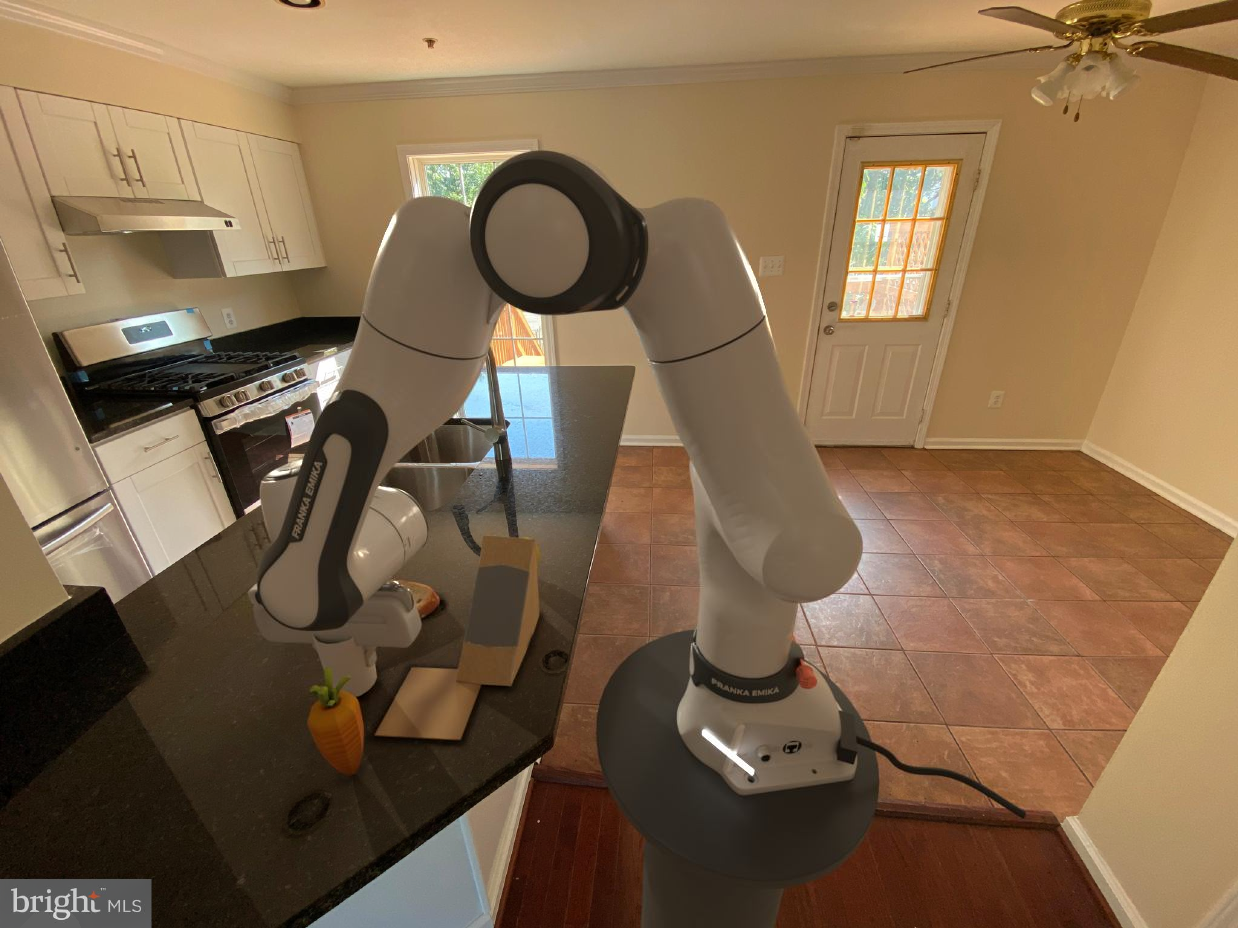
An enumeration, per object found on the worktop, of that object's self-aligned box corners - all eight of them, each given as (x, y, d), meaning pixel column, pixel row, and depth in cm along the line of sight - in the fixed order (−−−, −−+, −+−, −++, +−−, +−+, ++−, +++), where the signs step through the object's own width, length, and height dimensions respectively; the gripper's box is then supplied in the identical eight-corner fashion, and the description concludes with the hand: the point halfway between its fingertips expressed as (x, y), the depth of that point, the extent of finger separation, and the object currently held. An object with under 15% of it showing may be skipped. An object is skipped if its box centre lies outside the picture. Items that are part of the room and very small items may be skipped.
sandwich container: (452, 681, 70) (438, 594, 64) (491, 610, 84) (482, 533, 78) (511, 687, 69) (502, 600, 64) (540, 614, 83) (535, 537, 78)
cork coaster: (486, 671, 72) (486, 670, 72) (460, 740, 62) (460, 739, 62) (412, 668, 73) (412, 667, 73) (374, 735, 63) (374, 734, 63)
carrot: (345, 751, 61) (316, 658, 55) (384, 755, 60) (358, 662, 54) (319, 792, 56) (283, 695, 50) (360, 796, 56) (330, 700, 50)
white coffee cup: (321, 679, 70) (306, 623, 66) (371, 656, 74) (360, 602, 70) (334, 710, 65) (319, 652, 61) (387, 684, 70) (375, 628, 65)
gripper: (420, 567, 65) (435, 648, 71) (269, 562, 66) (296, 643, 72) (398, 599, 59) (417, 684, 65) (233, 593, 60) (265, 677, 66)
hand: (352, 662), depth 68 cm, fingers closed on white coffee cup, 3 cm apart
